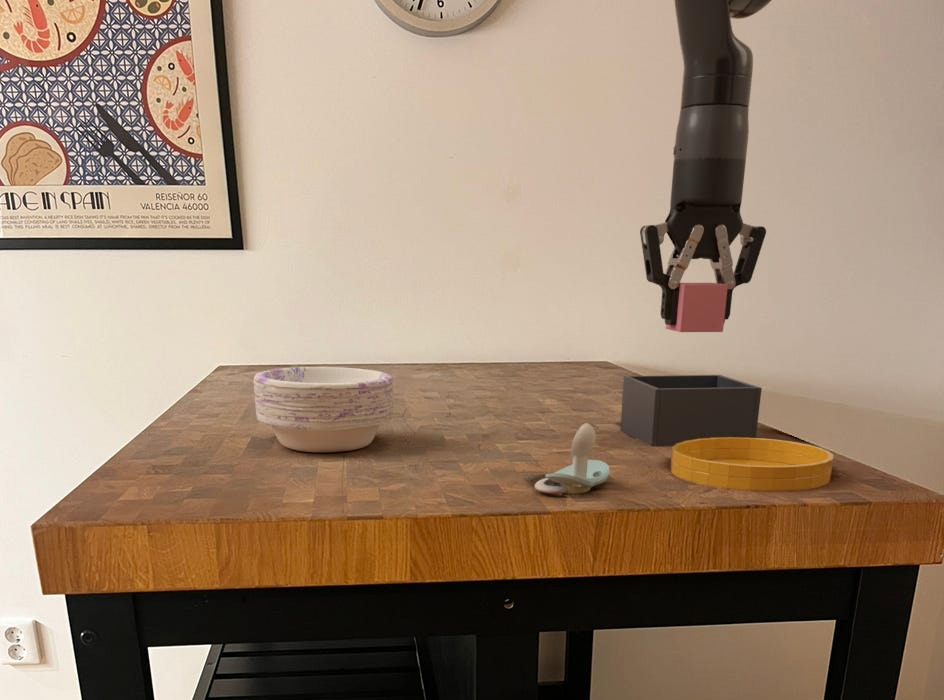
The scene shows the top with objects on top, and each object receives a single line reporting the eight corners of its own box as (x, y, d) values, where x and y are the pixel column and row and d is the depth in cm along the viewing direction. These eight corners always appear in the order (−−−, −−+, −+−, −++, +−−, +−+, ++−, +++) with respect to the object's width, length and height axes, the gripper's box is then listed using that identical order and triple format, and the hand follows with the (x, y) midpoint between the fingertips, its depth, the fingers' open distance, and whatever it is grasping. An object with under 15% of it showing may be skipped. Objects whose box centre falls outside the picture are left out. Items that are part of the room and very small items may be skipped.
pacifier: (521, 496, 87) (581, 502, 84) (521, 425, 84) (583, 430, 81) (558, 481, 92) (615, 486, 89) (558, 415, 90) (618, 418, 87)
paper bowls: (400, 456, 102) (398, 380, 100) (255, 460, 100) (249, 382, 97) (388, 432, 116) (387, 364, 113) (261, 435, 114) (255, 366, 111)
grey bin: (714, 428, 120) (720, 374, 118) (755, 446, 109) (761, 387, 106) (620, 430, 118) (623, 375, 116) (651, 448, 107) (655, 389, 105)
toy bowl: (787, 459, 102) (790, 435, 101) (859, 491, 88) (863, 464, 87) (650, 462, 100) (652, 438, 99) (702, 496, 86) (705, 468, 85)
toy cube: (706, 328, 112) (711, 282, 110) (723, 332, 107) (728, 284, 105) (665, 328, 111) (669, 282, 109) (680, 332, 106) (684, 284, 104)
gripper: (656, 152, 98) (643, 327, 104) (789, 155, 100) (768, 326, 106) (634, 159, 105) (623, 322, 111) (759, 161, 107) (741, 322, 113)
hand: (694, 323), depth 109 cm, fingers closed on toy cube, 5 cm apart
